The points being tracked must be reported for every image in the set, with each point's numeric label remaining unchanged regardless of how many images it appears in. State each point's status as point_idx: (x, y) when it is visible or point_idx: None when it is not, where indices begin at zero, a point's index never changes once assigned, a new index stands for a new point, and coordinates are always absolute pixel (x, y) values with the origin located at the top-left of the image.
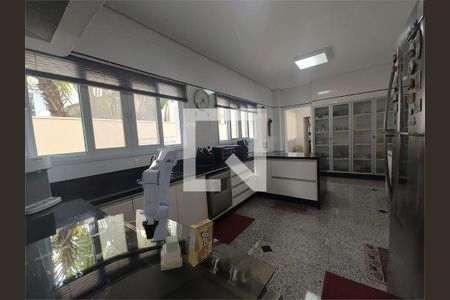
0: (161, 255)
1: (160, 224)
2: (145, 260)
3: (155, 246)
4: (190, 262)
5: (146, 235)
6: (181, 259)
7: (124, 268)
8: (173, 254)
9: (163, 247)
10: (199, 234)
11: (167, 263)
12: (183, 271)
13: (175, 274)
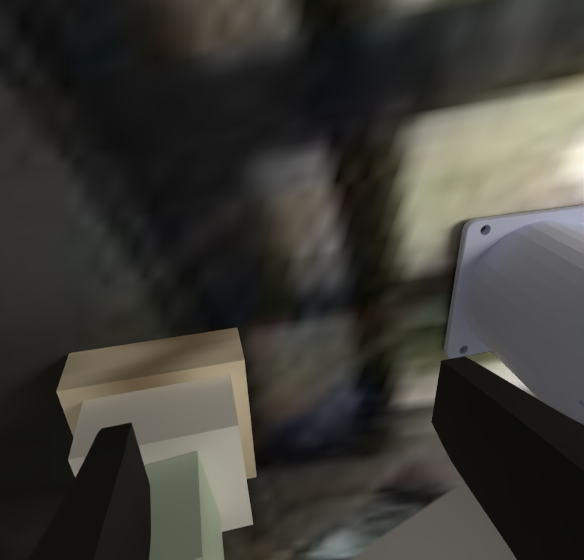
0: (179, 373)
1: (568, 394)
2: (213, 216)
3: (384, 269)
4: None
5: (67, 499)
6: None
7: (124, 26)
8: None
9: (191, 437)
10: None
11: (72, 426)
12: (54, 480)
13: (25, 442)
